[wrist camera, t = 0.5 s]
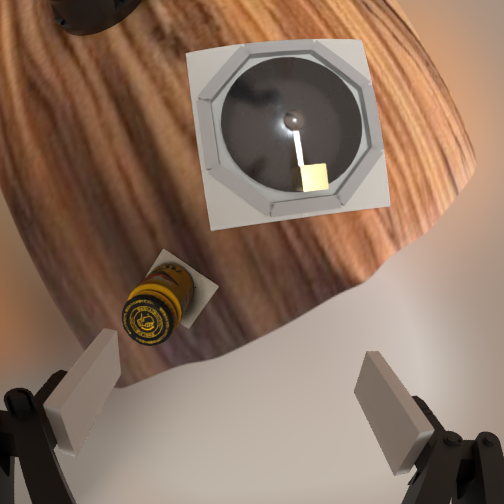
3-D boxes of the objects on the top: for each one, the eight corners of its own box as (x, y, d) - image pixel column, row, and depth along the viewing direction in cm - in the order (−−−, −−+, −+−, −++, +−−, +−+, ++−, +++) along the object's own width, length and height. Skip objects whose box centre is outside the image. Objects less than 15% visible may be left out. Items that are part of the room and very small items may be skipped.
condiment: (163, 248, 39) (132, 274, 27) (219, 285, 40) (210, 326, 29) (136, 292, 40) (101, 331, 28) (189, 327, 41) (171, 377, 30)
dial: (213, 68, 32) (206, 44, 25) (345, 58, 32) (365, 35, 25) (232, 201, 36) (230, 205, 29) (367, 184, 36) (393, 185, 29)
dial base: (188, 58, 34) (183, 48, 30) (356, 45, 34) (365, 35, 30) (212, 228, 39) (209, 233, 35) (383, 204, 39) (395, 207, 35)
